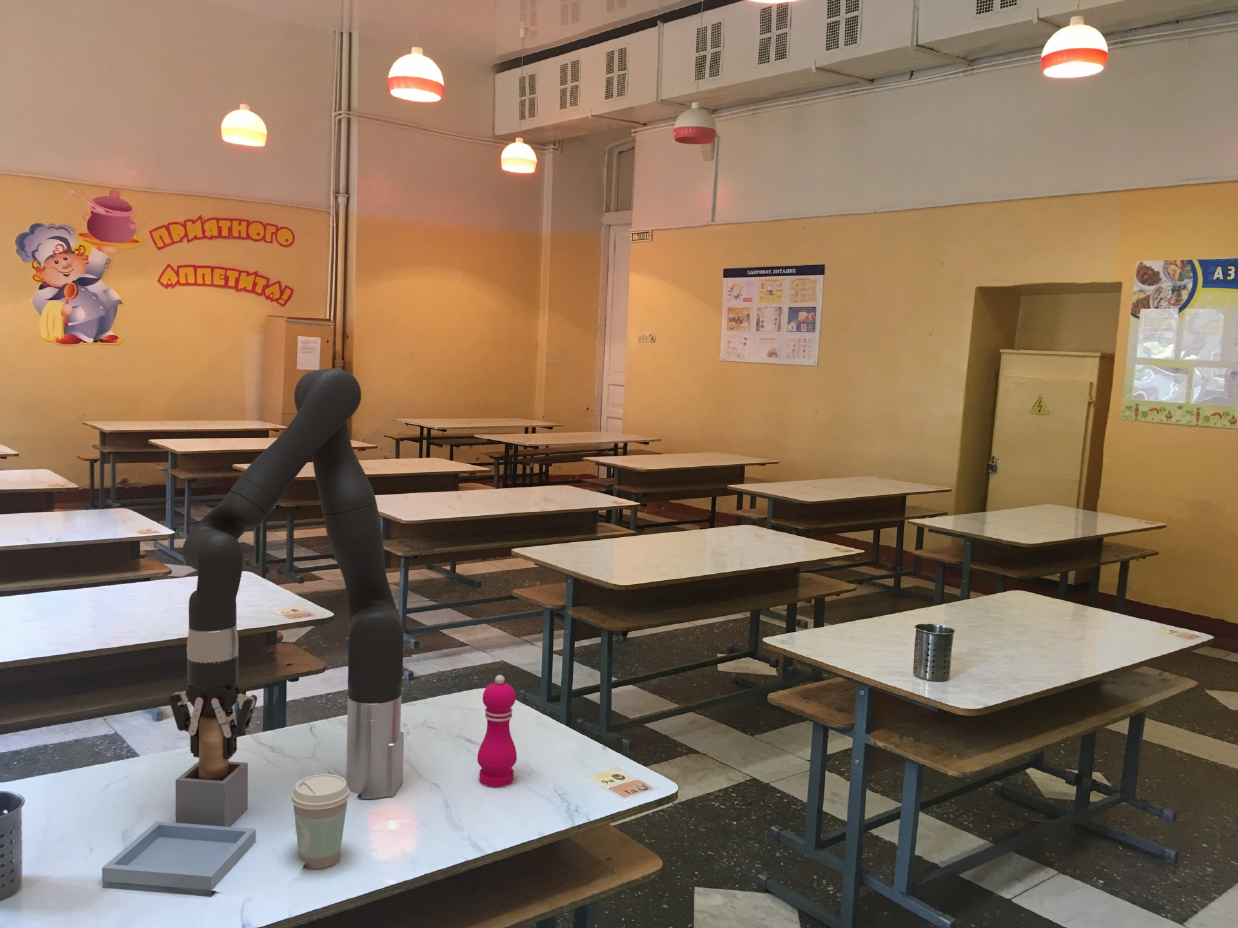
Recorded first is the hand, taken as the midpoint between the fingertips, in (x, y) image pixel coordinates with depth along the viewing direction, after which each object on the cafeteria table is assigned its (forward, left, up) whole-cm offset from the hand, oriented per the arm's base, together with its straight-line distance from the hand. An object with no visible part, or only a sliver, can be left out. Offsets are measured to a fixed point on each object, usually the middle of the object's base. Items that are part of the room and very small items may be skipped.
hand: (213, 755), depth 153 cm
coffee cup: (-21, +8, -12) cm, 25 cm away
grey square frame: (0, 0, -12) cm, 12 cm away
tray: (-2, +13, -12) cm, 17 cm away
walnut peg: (0, 0, -9) cm, 9 cm away
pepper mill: (-42, -24, -12) cm, 50 cm away
